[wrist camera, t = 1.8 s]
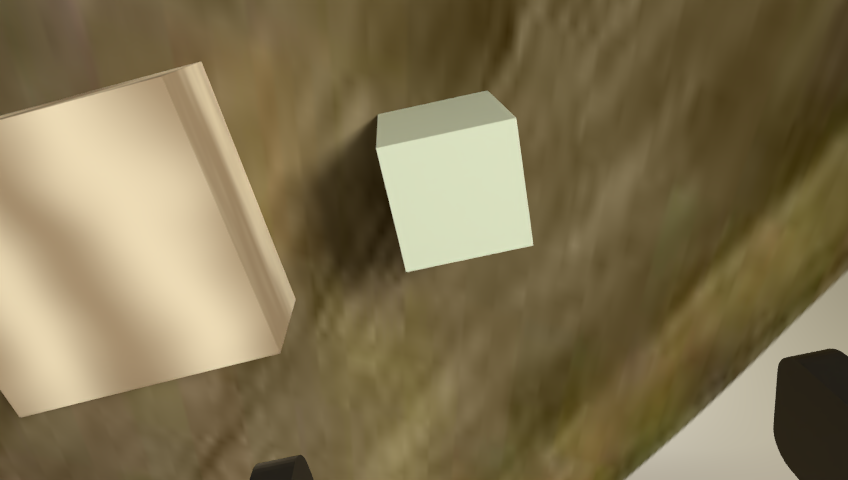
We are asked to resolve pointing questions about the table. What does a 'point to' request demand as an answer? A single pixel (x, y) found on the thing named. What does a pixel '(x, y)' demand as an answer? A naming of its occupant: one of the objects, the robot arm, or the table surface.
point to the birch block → (129, 245)
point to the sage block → (454, 180)
